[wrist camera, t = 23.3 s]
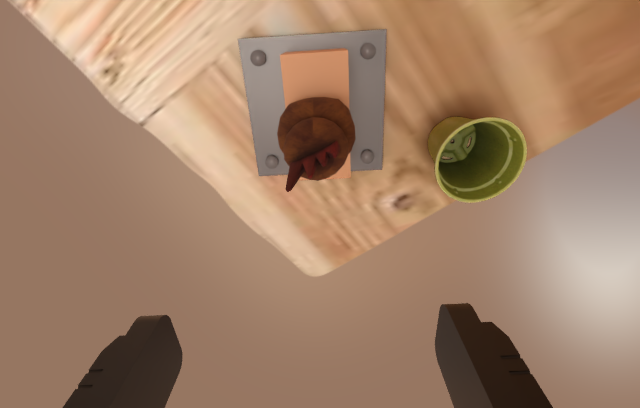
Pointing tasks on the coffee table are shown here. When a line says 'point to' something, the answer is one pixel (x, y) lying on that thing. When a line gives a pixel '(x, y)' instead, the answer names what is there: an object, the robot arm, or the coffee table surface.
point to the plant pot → (476, 156)
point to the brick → (317, 81)
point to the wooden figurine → (315, 138)
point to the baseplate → (270, 103)
